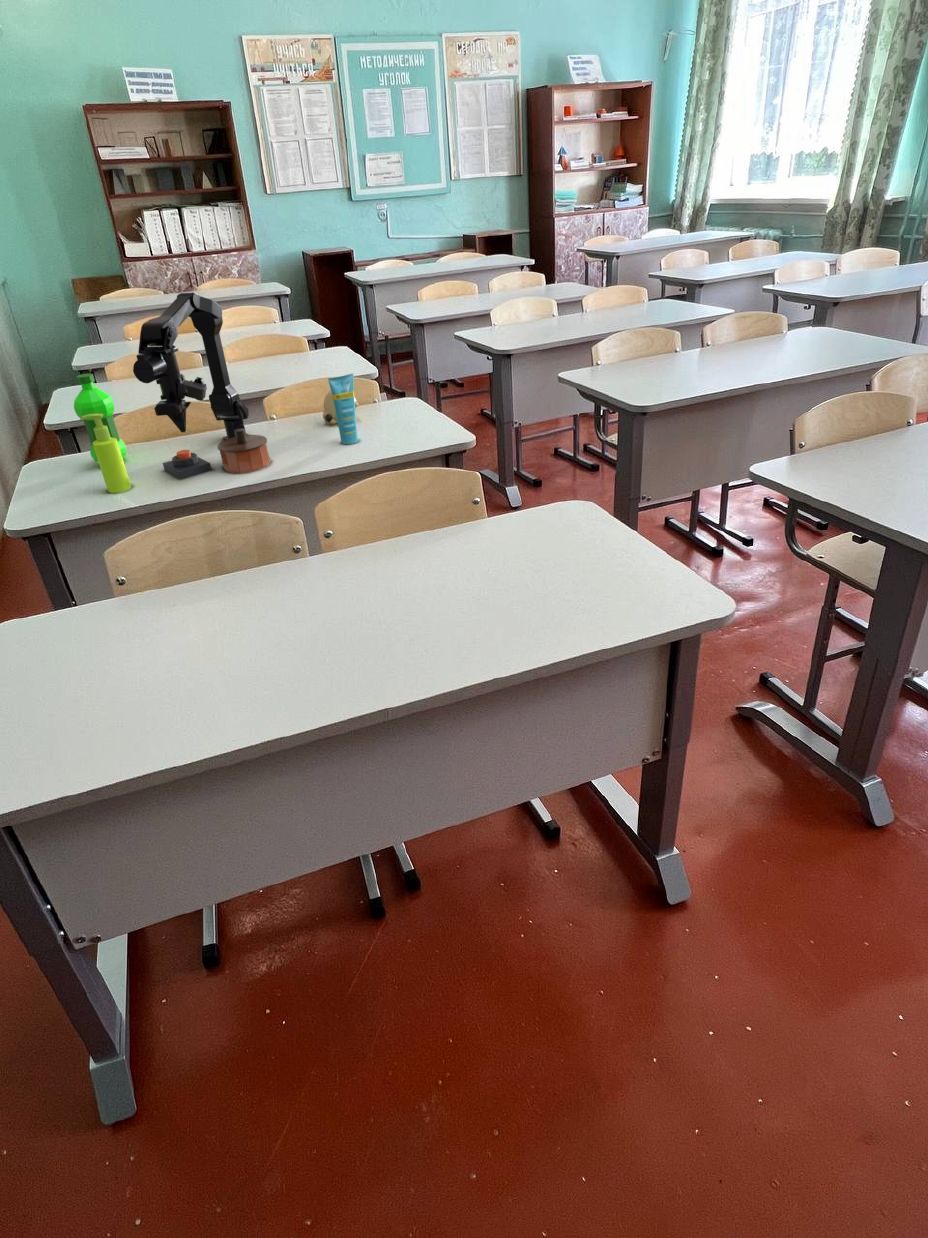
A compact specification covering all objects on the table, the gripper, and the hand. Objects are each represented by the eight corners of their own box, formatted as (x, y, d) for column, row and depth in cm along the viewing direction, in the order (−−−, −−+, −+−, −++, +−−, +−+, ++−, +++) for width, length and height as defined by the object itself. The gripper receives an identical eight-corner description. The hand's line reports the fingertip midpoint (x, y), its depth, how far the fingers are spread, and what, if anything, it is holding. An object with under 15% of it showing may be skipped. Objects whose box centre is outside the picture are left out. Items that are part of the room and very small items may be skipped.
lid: (209, 445, 209) (205, 431, 206) (252, 433, 216) (249, 419, 214) (231, 456, 200) (228, 441, 198) (276, 442, 207) (273, 428, 205)
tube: (342, 446, 219) (331, 379, 209) (335, 442, 223) (324, 376, 213) (364, 440, 223) (356, 374, 213) (357, 437, 226) (348, 371, 216)
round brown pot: (216, 466, 212) (211, 445, 208) (256, 454, 218) (251, 434, 215) (237, 476, 203) (232, 455, 200) (278, 463, 210) (273, 442, 207)
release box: (164, 470, 212) (160, 456, 209) (194, 461, 216) (191, 448, 214) (181, 479, 204) (177, 465, 202) (211, 470, 209) (208, 456, 207)
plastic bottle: (108, 471, 214) (79, 381, 201) (86, 466, 219) (56, 378, 206) (138, 459, 221) (112, 372, 208) (115, 454, 226) (88, 369, 213)
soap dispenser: (108, 486, 204) (84, 412, 193) (134, 483, 204) (111, 409, 193) (101, 494, 199) (75, 419, 188) (127, 491, 199) (104, 416, 188)
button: (175, 458, 209) (174, 452, 208) (188, 454, 211) (186, 448, 210) (181, 461, 206) (179, 454, 205) (193, 457, 208) (192, 451, 207)
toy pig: (341, 428, 246) (313, 409, 242) (362, 397, 243) (334, 378, 238) (343, 436, 238) (314, 417, 233) (365, 405, 235) (336, 384, 230)
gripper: (191, 379, 189) (206, 440, 197) (207, 362, 205) (220, 419, 213) (146, 383, 189) (163, 443, 197) (165, 365, 204) (180, 422, 213)
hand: (183, 431), depth 205 cm, fingers closed
